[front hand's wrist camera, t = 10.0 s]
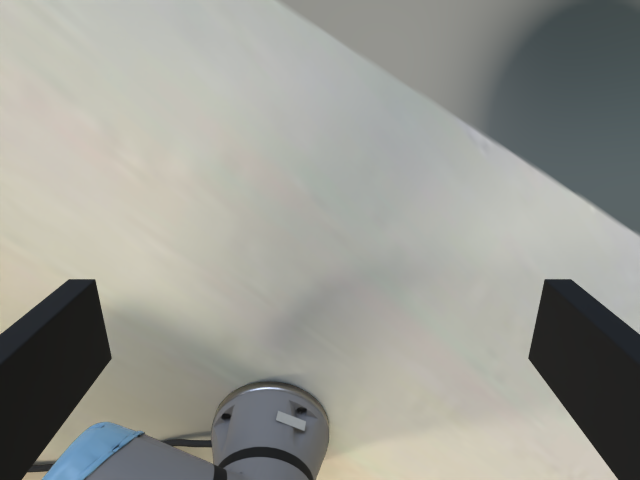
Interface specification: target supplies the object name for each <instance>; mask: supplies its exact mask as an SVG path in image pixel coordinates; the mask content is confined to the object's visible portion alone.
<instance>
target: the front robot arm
mask: <svg viewBox="0 0 640 480" xmlns="http://www.w3.org/2000/svg"><path fill="white" fill-rule="evenodd" d="M111 359H112V357H111V353H110V348H109V343H108V338H107V334H106V329H105V324H104V319H103V314H102V310H101V305H100V300H99V295H98V290H97V286H96V281H95V279H69V280H68V281H66V282H65V283H64V284H63V285H61V286H60V287H59V288H58V289H56V290H55V291H54V292H53V293H51V294H50V295H49V296H48V297H47V298H45V299H44V300H43V301H42V302H40V303H39V304H38V305H37V306H35V307H34V308H33V309H32V310H30V311H29V312H28V313H27V314H25V315H24V316H23V317H22V318H20V319H19V320H18V321H17V322H15V323H14V324H13V325H12V326H10V327H9V328H8V329H7V330H5V331H4V332H3V333H2V334H0V480H22V478H23V477H24V476H25V474H26V473H27V472H43V471H48V472H47V474H46V475H45V476H44V477H43V479H42V480H316V478H317V475H318V472H319V470H320V467H321V465H322V462H323V459H324V457H325V454H326V451H327V447H328V443H329V423H328V419H327V415H326V413H325V411H324V409H323V408H322V406H321V405H320V403H319V402H318V401H317V400H316V399H315V398H314V397H313V396H311V395H310V394H309V393H307V392H305V391H304V390H302V389H300V388H298V387H295V386H293V385H289V384H285V383H280V382H258V383H253V384H249V385H246V386H244V387H241V388H239V389H237V390H235V391H234V392H232V393H231V394H230V395H228V396H227V397H226V398H225V399H224V400H223V402H222V403H221V404H220V406H219V407H218V409H217V412H216V415H215V418H214V421H213V424H212V431H211V440H185V439H175V440H168V441H163V442H161V441H159V440H157V439H154V438H152V437H150V436H147V435H145V432H143V431H134V430H131V429H128V428H125V427H122V426H120V425H117V424H114V423H111V422H101V423H97V424H95V425H93V426H91V427H89V428H88V429H87V430H85V431H84V432H83V433H82V434H81V435H80V436H79V437H78V438H77V439H76V440H75V441H74V442H73V443H72V444H71V445H70V446H69V447H68V449H67V450H66V451H65V452H64V453H63V454H62V455H61V457H60V458H59V459H58V460H57V461H56V462H55V464H50V465H33V464H34V462H35V461H36V460H37V458H38V457H39V456H40V454H41V453H42V452H43V450H44V449H45V447H46V446H47V445H48V443H49V442H50V441H51V439H52V438H53V437H54V435H55V434H56V433H57V431H58V430H59V429H60V427H61V426H62V425H63V423H64V422H65V421H66V419H67V418H68V417H69V415H70V414H71V412H72V411H73V410H74V408H75V407H76V406H77V404H78V403H79V402H80V400H81V399H82V398H83V396H84V395H85V394H86V392H87V391H88V390H89V388H90V387H91V386H92V384H93V383H94V381H95V380H96V379H97V377H98V376H99V375H100V373H101V372H102V371H103V369H104V368H105V367H106V365H107V364H108V363H109V361H110V360H111ZM528 359H529V360H530V361H531V363H532V364H533V365H534V367H535V368H536V369H537V371H538V372H539V373H540V375H541V376H542V377H543V379H544V380H545V381H546V383H547V384H548V386H549V387H550V388H551V390H552V391H553V392H554V394H555V395H556V396H557V398H558V399H559V400H560V402H561V403H562V404H563V406H564V407H565V408H566V410H567V411H568V412H569V414H570V415H571V417H572V418H573V419H574V421H575V422H576V423H577V425H578V426H579V427H580V429H581V430H582V431H583V433H584V434H585V435H586V437H587V438H588V439H589V441H590V442H591V443H592V445H593V446H594V447H595V449H596V450H597V452H598V453H599V454H600V456H601V457H602V458H603V460H604V461H605V462H606V464H607V465H608V466H609V468H610V469H611V470H612V472H613V473H614V474H615V476H616V477H617V478H618V480H640V334H638V333H637V332H636V331H635V330H633V329H632V328H631V327H630V326H628V325H627V324H626V323H625V322H623V321H622V320H621V319H620V318H618V317H617V316H616V315H615V314H613V313H612V312H611V311H610V310H608V309H607V308H606V307H605V306H603V305H602V304H601V303H600V302H598V301H597V300H596V299H595V298H593V297H592V296H591V295H590V294H589V293H587V292H586V291H585V290H584V289H582V288H581V287H580V286H579V285H577V284H576V283H575V282H574V281H572V280H571V279H545V281H544V286H543V290H542V295H541V300H540V305H539V310H538V314H537V319H536V324H535V329H534V334H533V338H532V343H531V348H530V353H529V357H528ZM172 446H187V447H212V452H213V462H214V464H212V463H210V462H207V461H205V460H203V459H200V458H198V457H196V456H193V455H191V454H188V453H186V452H184V451H182V450H179V449H177V448H175V447H172Z"/></svg>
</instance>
